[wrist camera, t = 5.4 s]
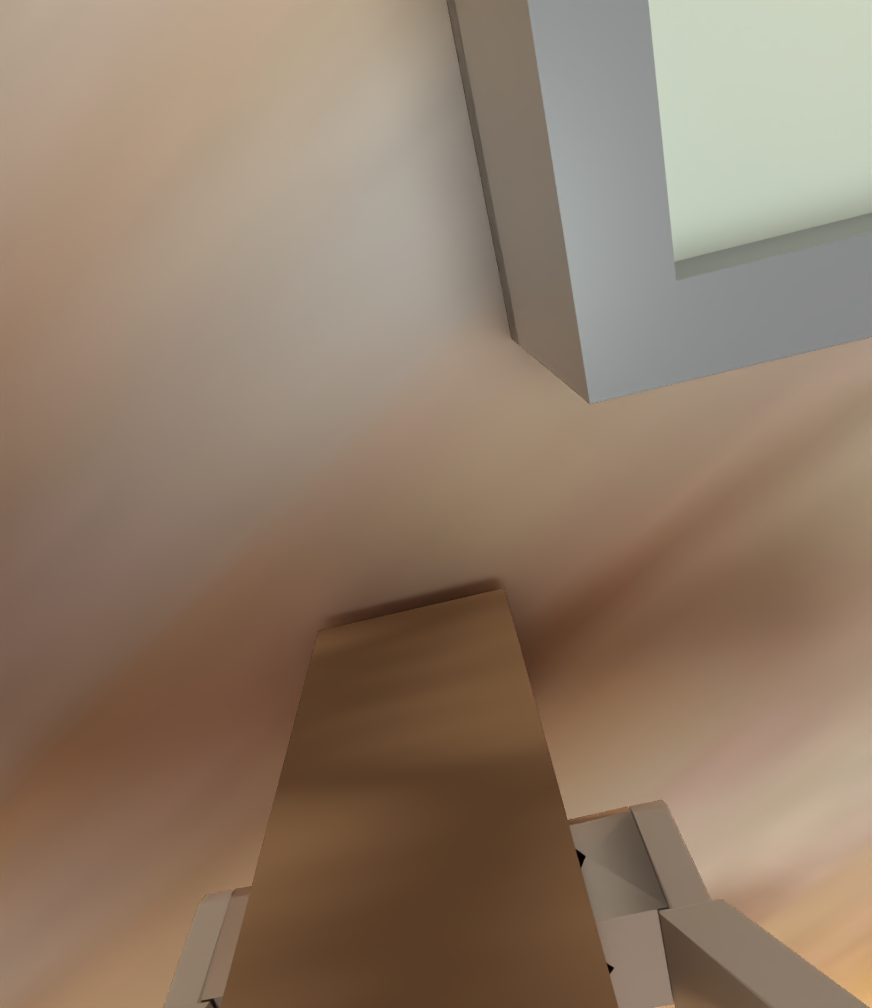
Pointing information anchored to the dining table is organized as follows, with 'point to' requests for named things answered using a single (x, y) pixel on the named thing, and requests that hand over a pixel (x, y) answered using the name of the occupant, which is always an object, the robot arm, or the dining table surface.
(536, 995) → the walnut peg
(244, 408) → the dining table surface
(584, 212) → the socket tray
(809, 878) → the dining table surface
